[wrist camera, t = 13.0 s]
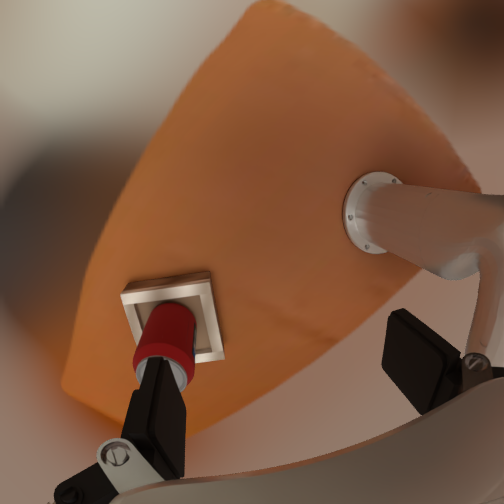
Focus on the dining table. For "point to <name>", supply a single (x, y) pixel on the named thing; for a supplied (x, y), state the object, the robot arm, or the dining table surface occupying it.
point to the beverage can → (169, 342)
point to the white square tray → (183, 293)
